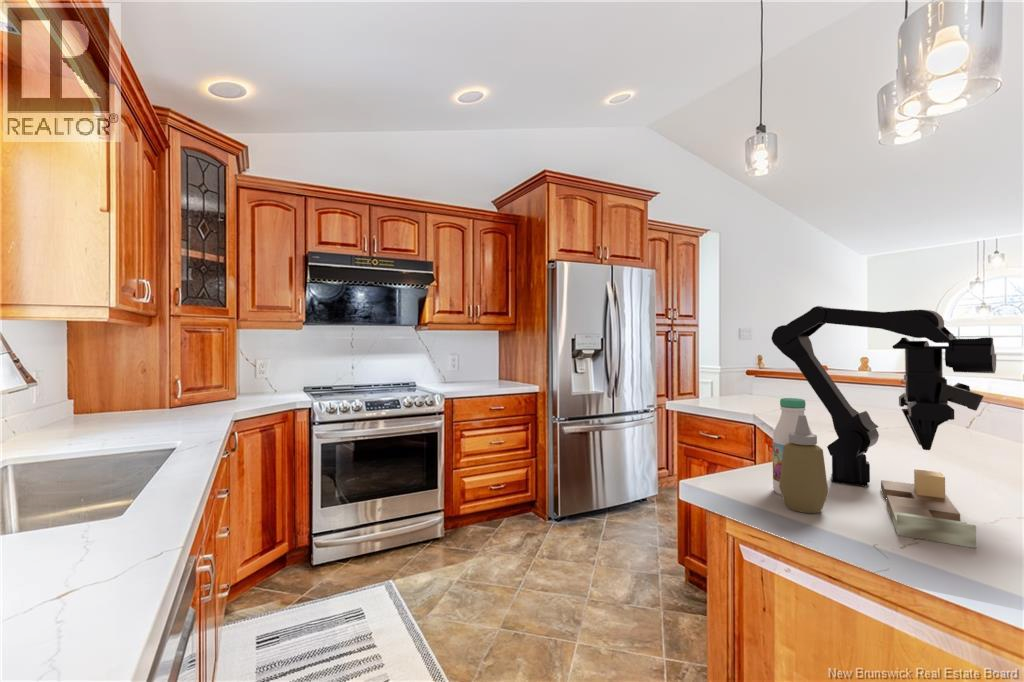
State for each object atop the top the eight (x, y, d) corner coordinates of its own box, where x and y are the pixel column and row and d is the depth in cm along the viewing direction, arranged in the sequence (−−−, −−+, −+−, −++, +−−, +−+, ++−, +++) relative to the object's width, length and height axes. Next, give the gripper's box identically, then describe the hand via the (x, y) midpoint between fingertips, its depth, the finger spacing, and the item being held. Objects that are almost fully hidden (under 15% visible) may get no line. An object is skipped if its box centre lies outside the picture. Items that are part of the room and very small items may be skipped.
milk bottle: (808, 488, 102) (807, 396, 102) (821, 501, 95) (820, 401, 95) (768, 486, 104) (767, 396, 104) (778, 498, 97) (777, 401, 97)
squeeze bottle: (805, 518, 86) (804, 420, 86) (769, 503, 94) (768, 413, 93) (839, 513, 88) (838, 417, 88) (801, 499, 96) (800, 411, 96)
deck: (897, 534, 78) (897, 514, 78) (881, 489, 101) (880, 473, 101) (976, 548, 73) (976, 526, 73) (940, 496, 96) (940, 480, 96)
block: (917, 494, 91) (917, 474, 91) (914, 489, 95) (914, 469, 95) (945, 498, 89) (945, 477, 89) (940, 492, 93) (940, 472, 93)
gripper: (992, 376, 84) (993, 463, 84) (966, 369, 99) (966, 442, 99) (910, 374, 90) (911, 455, 90) (898, 367, 105) (898, 437, 106)
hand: (924, 447), depth 96 cm, fingers open, 4 cm apart
